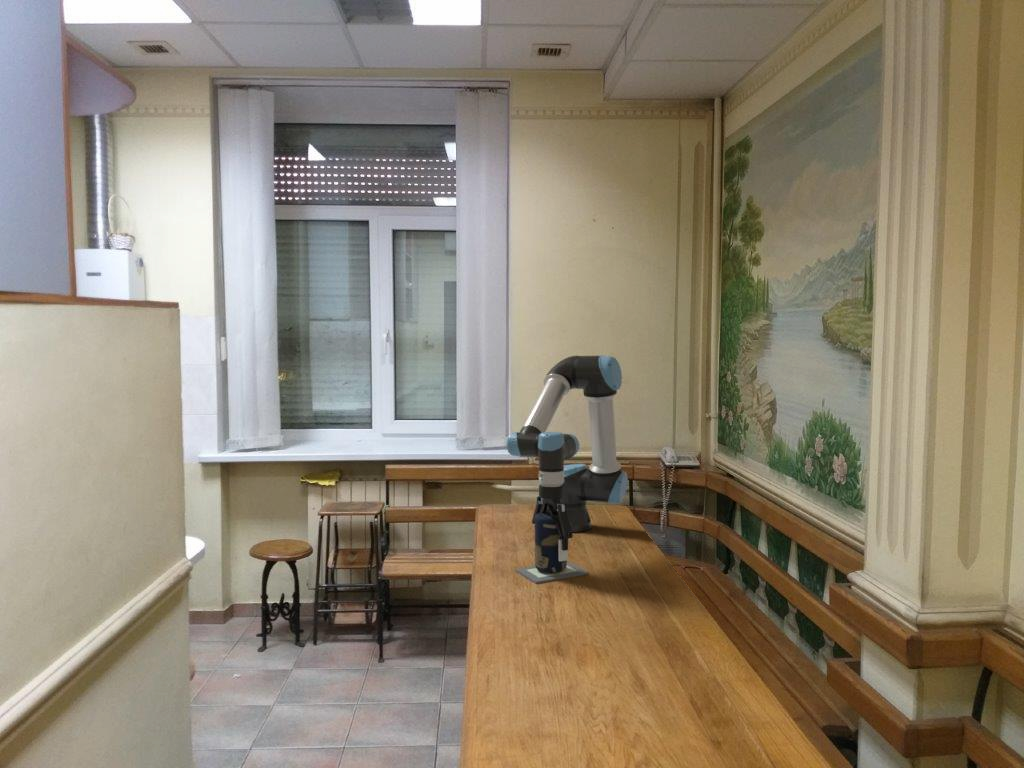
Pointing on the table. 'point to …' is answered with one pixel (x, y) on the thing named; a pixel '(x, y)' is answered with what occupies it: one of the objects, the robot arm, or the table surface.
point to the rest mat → (541, 577)
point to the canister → (547, 545)
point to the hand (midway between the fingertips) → (551, 554)
